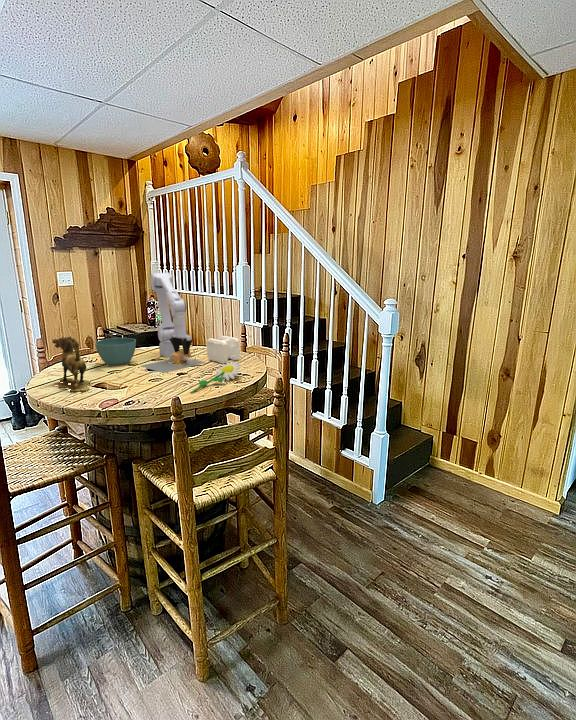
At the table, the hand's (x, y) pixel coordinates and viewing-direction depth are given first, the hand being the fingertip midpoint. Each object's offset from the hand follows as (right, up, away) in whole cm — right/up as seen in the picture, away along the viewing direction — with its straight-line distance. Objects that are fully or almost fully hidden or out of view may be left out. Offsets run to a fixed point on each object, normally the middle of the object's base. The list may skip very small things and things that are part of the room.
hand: (181, 353), depth 199 cm
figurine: (-37, -14, -29) cm, 49 cm away
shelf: (-3, -7, -2) cm, 8 cm away
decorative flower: (+21, -14, -28) cm, 38 cm away
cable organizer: (+19, -4, +9) cm, 22 cm away
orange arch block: (0, -5, +2) cm, 5 cm away
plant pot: (-32, -6, +2) cm, 32 cm away
